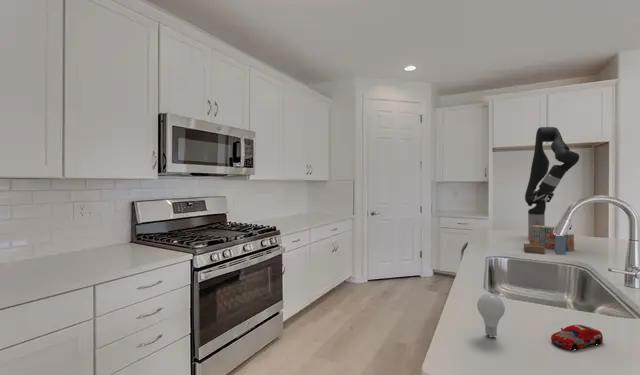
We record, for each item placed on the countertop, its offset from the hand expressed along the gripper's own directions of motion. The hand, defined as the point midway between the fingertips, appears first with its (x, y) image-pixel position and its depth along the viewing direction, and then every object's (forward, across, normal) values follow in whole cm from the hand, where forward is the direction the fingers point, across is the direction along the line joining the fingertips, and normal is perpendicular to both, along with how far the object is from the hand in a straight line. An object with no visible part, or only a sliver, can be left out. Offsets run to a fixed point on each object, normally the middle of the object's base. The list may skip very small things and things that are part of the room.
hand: (534, 206), depth 192 cm
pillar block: (+13, -1, +27) cm, 30 cm away
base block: (+19, +7, +20) cm, 28 cm away
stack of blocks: (+19, -12, +15) cm, 26 cm away
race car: (-9, +91, +95) cm, 132 cm away
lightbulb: (-3, +108, +88) cm, 139 cm away
